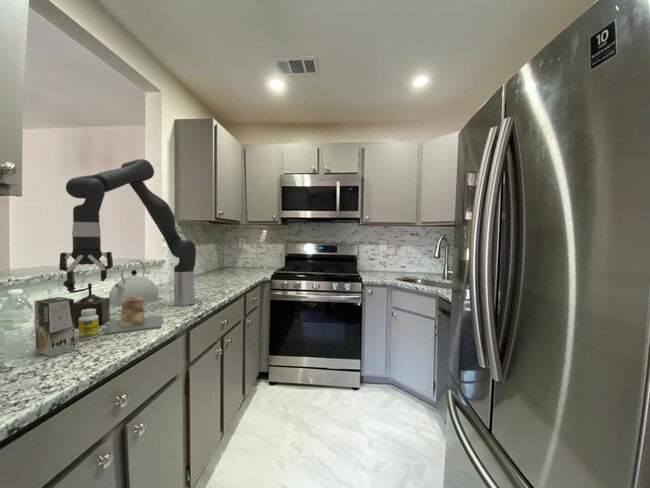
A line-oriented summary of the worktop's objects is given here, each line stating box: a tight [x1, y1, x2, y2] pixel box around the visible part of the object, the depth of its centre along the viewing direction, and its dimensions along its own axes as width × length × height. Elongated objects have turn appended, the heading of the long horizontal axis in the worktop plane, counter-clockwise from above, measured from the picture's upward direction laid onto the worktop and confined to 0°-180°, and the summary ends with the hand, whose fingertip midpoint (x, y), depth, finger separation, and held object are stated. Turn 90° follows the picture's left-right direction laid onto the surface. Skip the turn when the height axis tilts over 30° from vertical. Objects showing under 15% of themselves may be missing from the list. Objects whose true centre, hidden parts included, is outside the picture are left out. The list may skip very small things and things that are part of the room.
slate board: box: [102, 315, 164, 336], centre depth 114 cm, size 18×16×1 cm
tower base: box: [119, 311, 145, 328], centre depth 113 cm, size 7×7×5 cm
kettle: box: [108, 259, 160, 307], centre depth 153 cm, size 25×23×22 cm
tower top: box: [121, 296, 145, 315], centre depth 113 cm, size 7×7×5 cm
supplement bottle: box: [78, 309, 100, 341], centre depth 100 cm, size 5×5×10 cm
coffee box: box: [34, 296, 76, 357], centre depth 89 cm, size 9×6×16 cm
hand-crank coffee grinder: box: [62, 279, 111, 329], centre depth 115 cm, size 16×11×18 cm
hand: (87, 281), depth 100 cm, fingers open, 8 cm apart
